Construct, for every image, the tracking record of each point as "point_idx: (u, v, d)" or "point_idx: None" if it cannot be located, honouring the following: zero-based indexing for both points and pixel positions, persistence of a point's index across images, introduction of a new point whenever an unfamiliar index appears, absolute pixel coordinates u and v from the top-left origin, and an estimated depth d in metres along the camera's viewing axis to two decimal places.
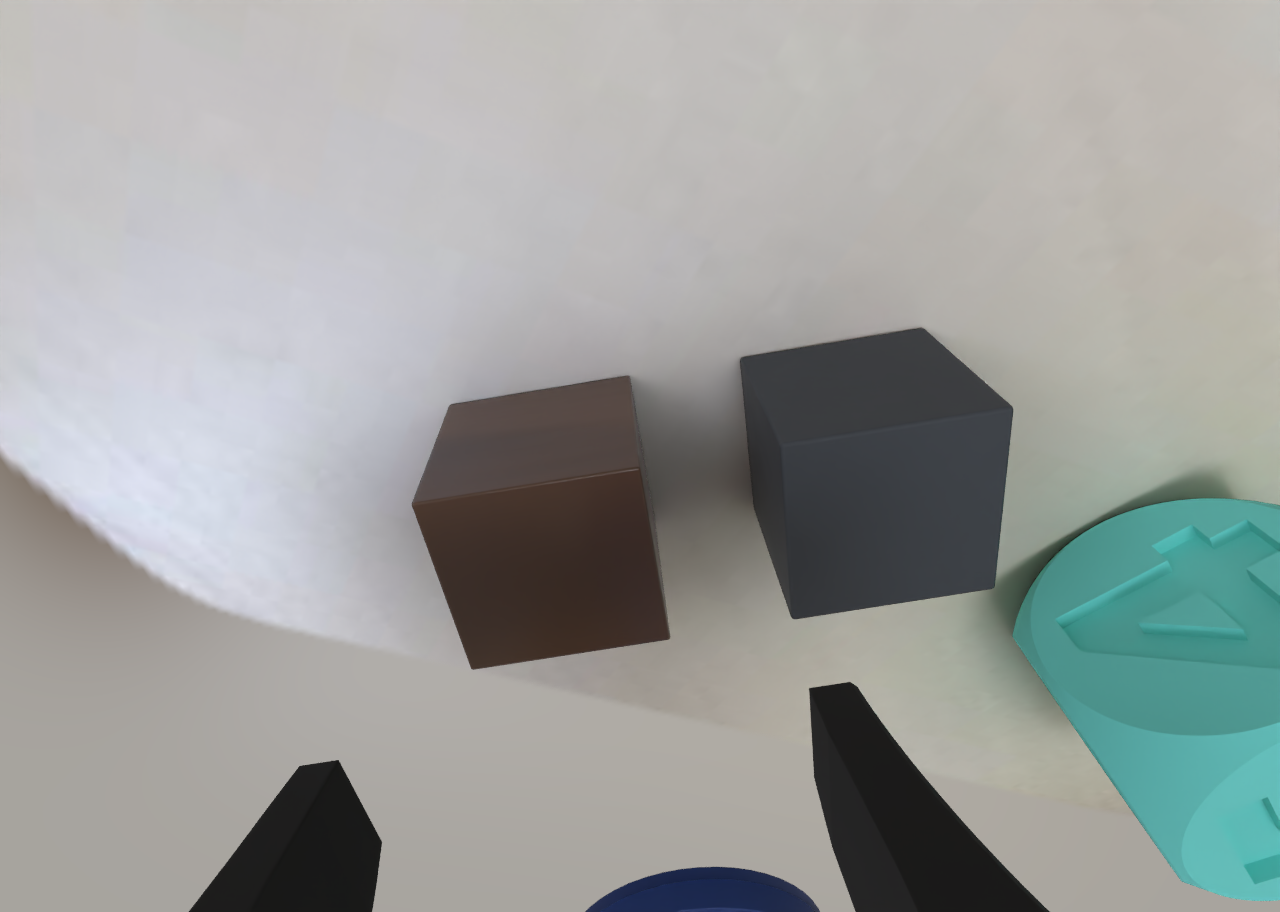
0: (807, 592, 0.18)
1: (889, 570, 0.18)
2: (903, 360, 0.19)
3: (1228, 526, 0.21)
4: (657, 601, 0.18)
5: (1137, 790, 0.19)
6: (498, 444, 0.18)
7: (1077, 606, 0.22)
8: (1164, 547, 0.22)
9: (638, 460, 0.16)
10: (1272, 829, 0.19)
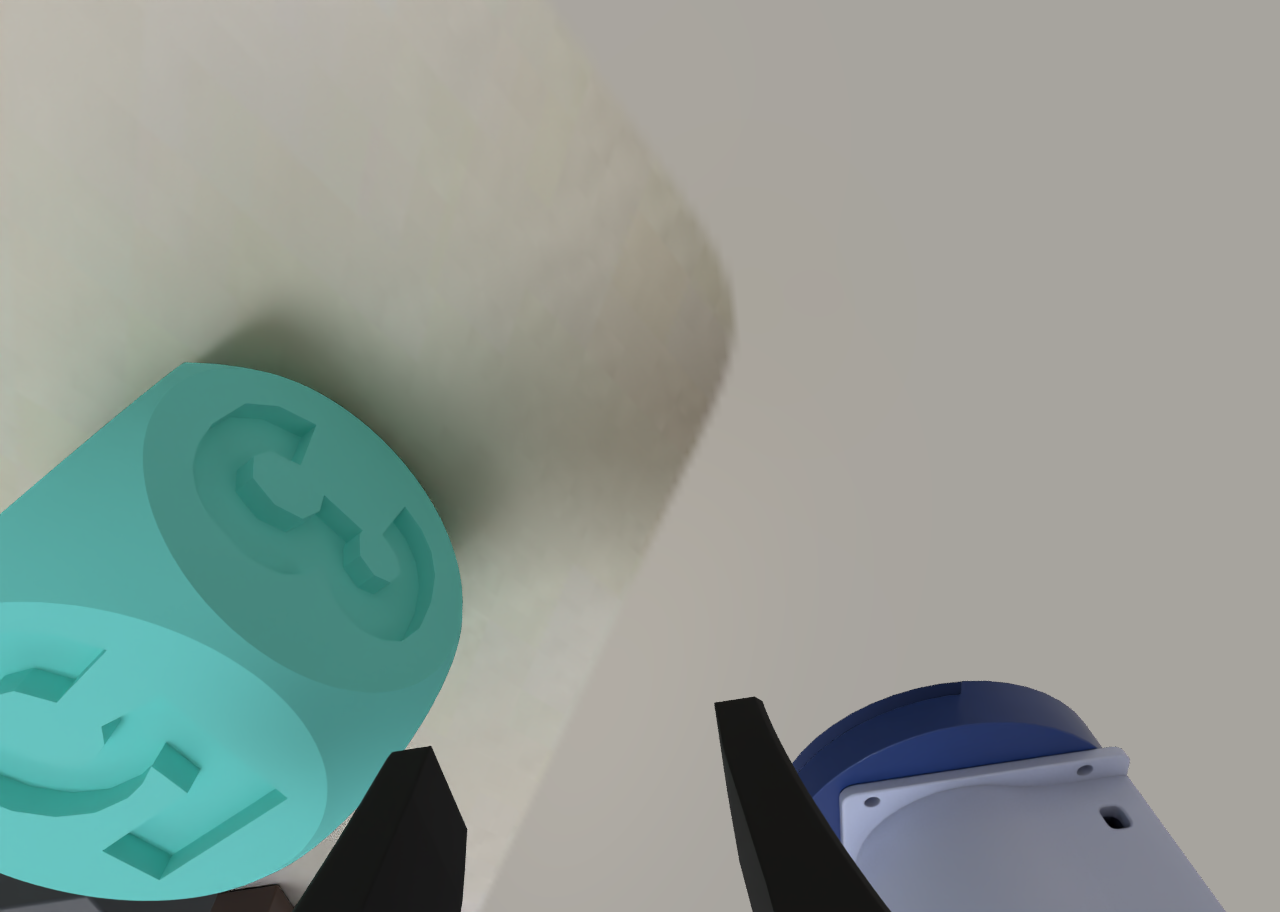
0: None
1: None
2: None
3: None
4: None
5: None
6: None
7: None
8: None
9: None
10: (208, 770, 0.14)
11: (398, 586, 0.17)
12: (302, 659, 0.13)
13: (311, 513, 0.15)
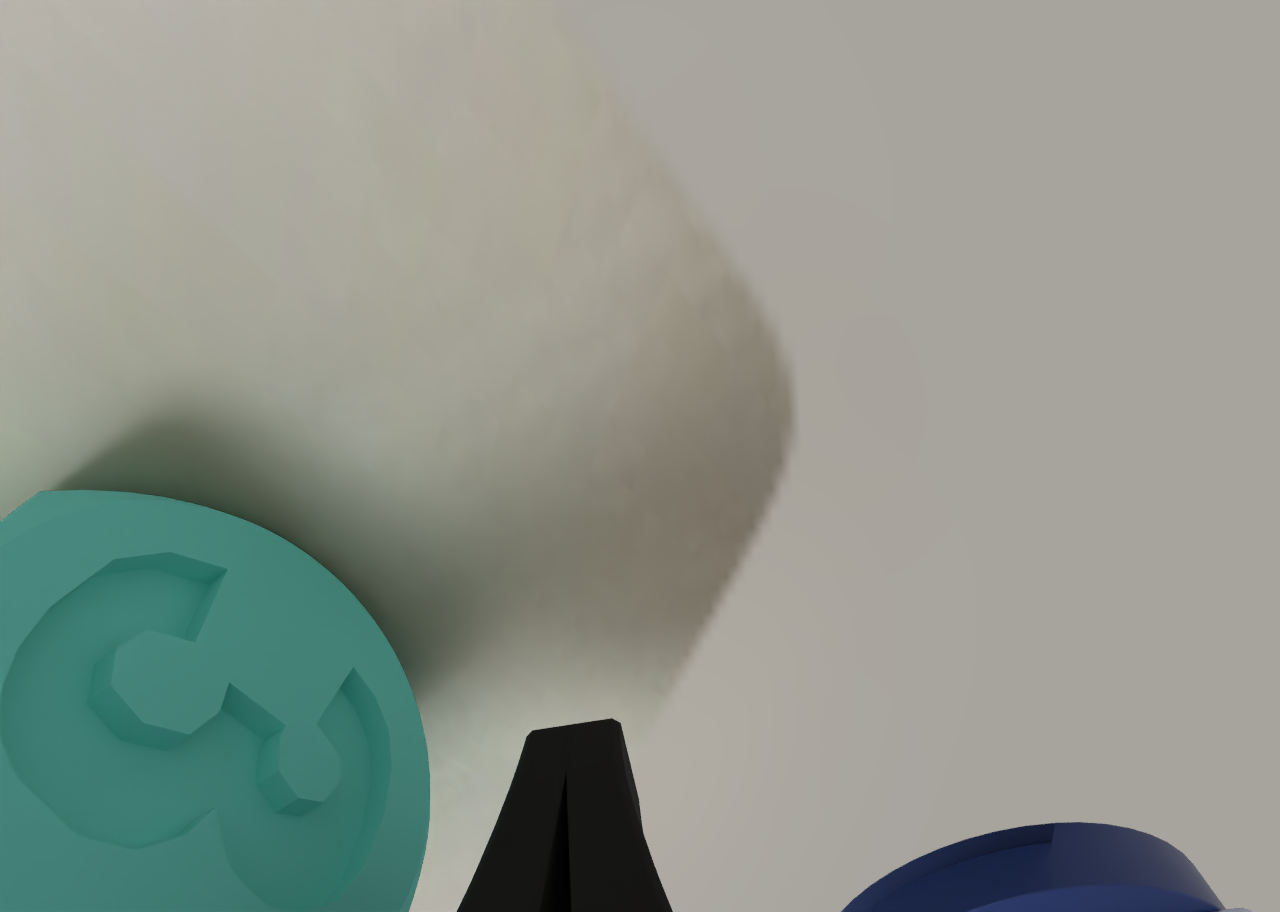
0: None
1: None
2: None
3: None
4: None
5: None
6: None
7: None
8: None
9: None
10: None
11: (340, 791, 0.12)
12: None
13: (205, 720, 0.10)
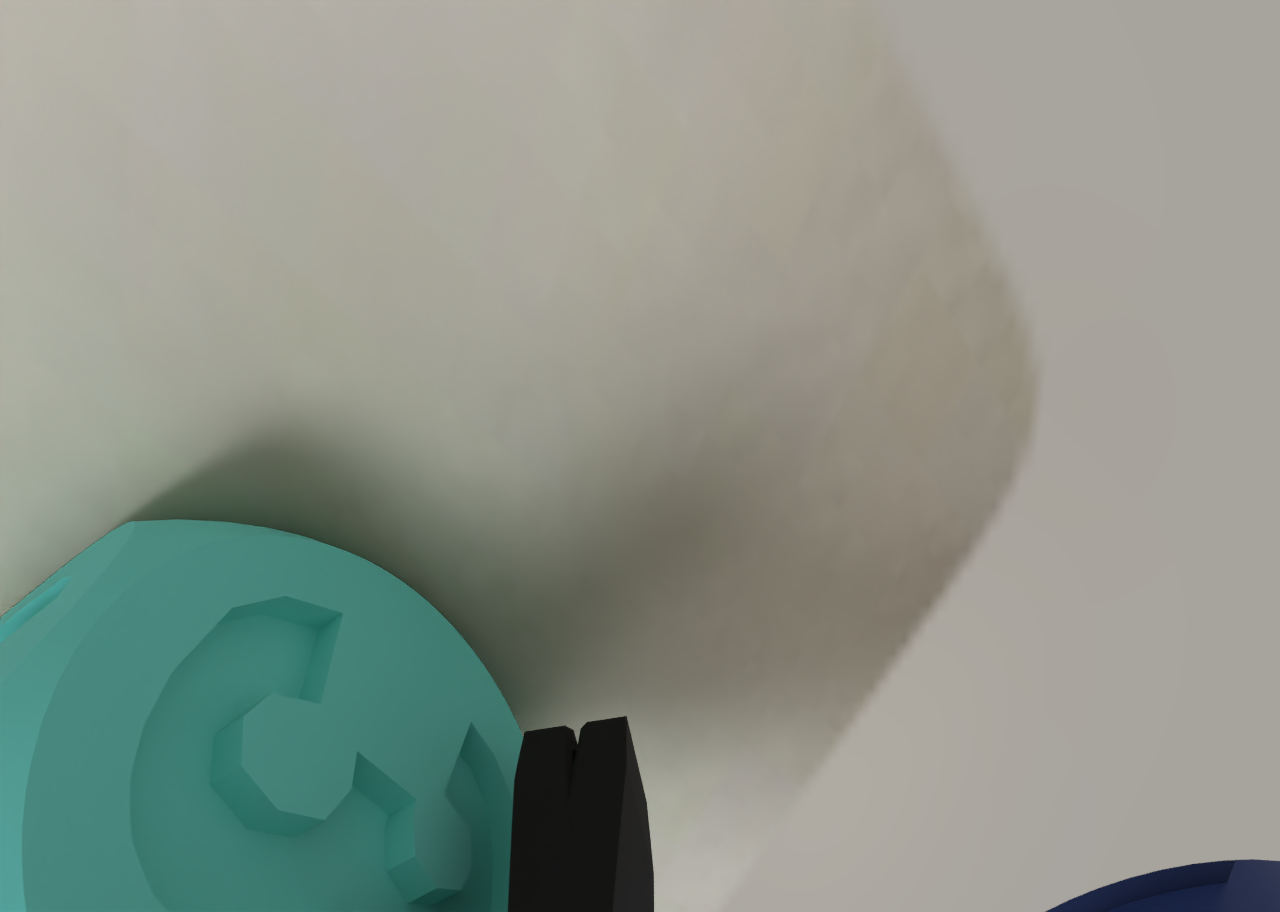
0: None
1: None
2: None
3: None
4: None
5: None
6: None
7: None
8: None
9: None
10: None
11: None
12: None
13: (338, 800, 0.09)
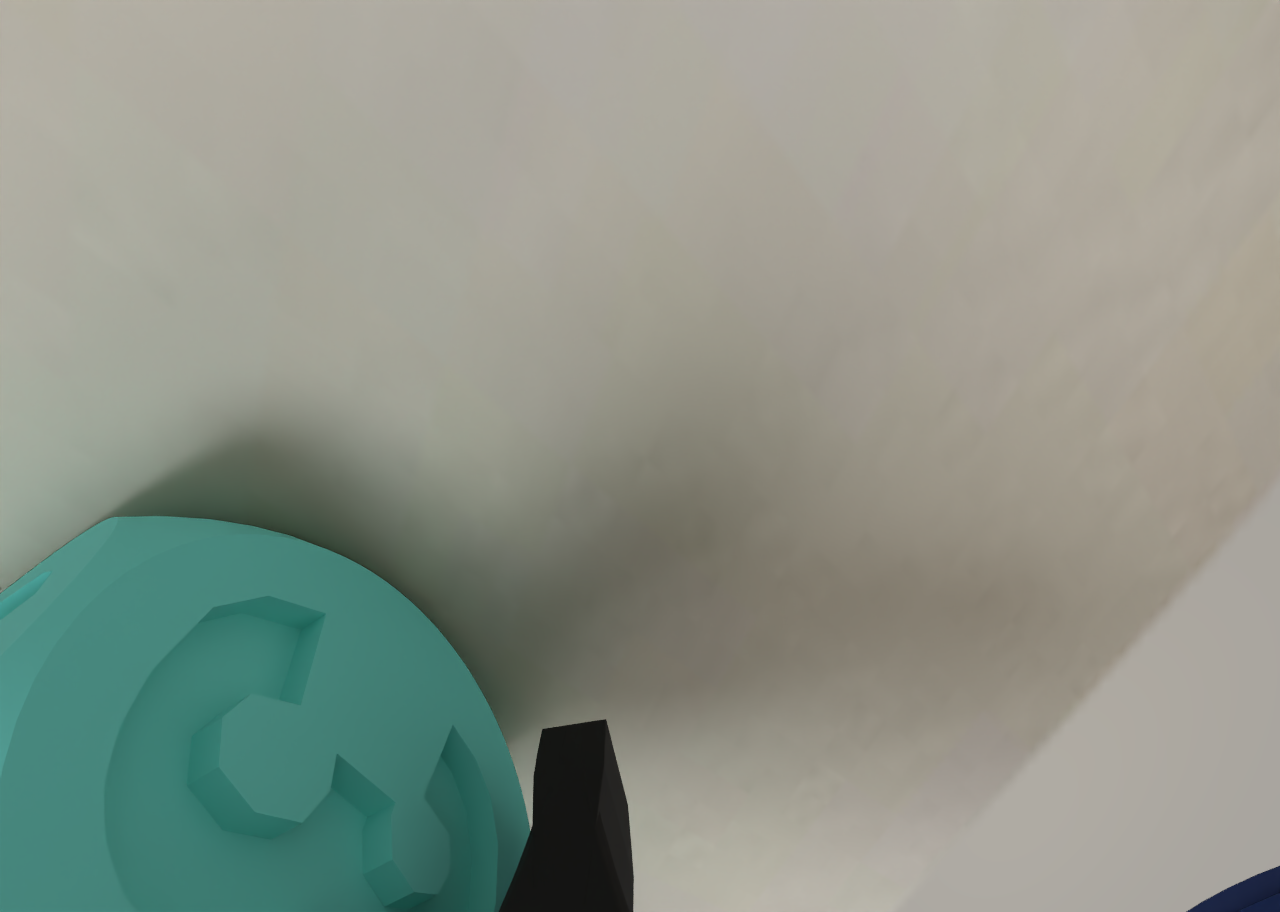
0: None
1: None
2: None
3: None
4: None
5: None
6: None
7: None
8: None
9: None
10: None
11: None
12: None
13: (316, 803, 0.09)
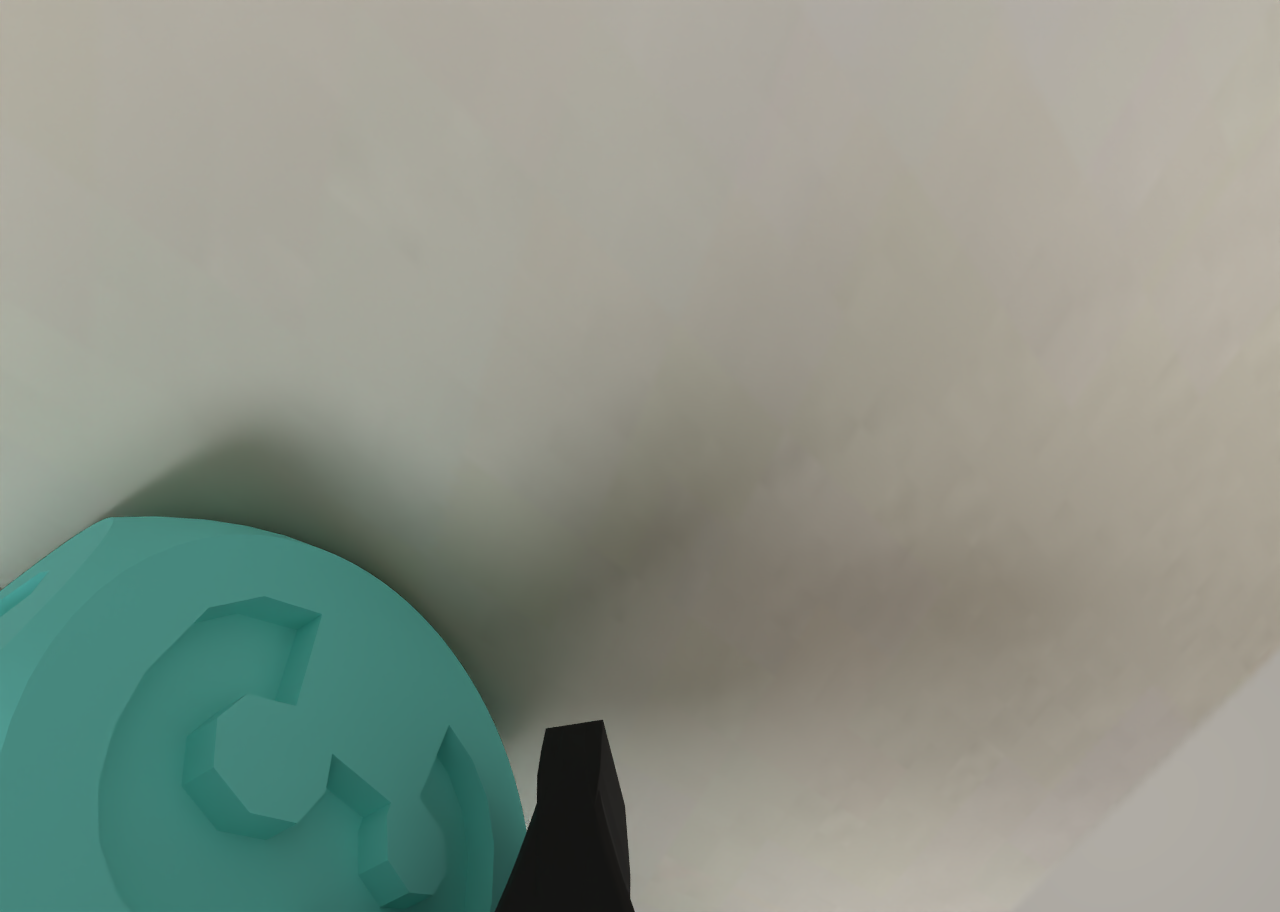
0: None
1: None
2: None
3: None
4: None
5: None
6: None
7: None
8: None
9: None
10: None
11: None
12: None
13: (311, 803, 0.09)
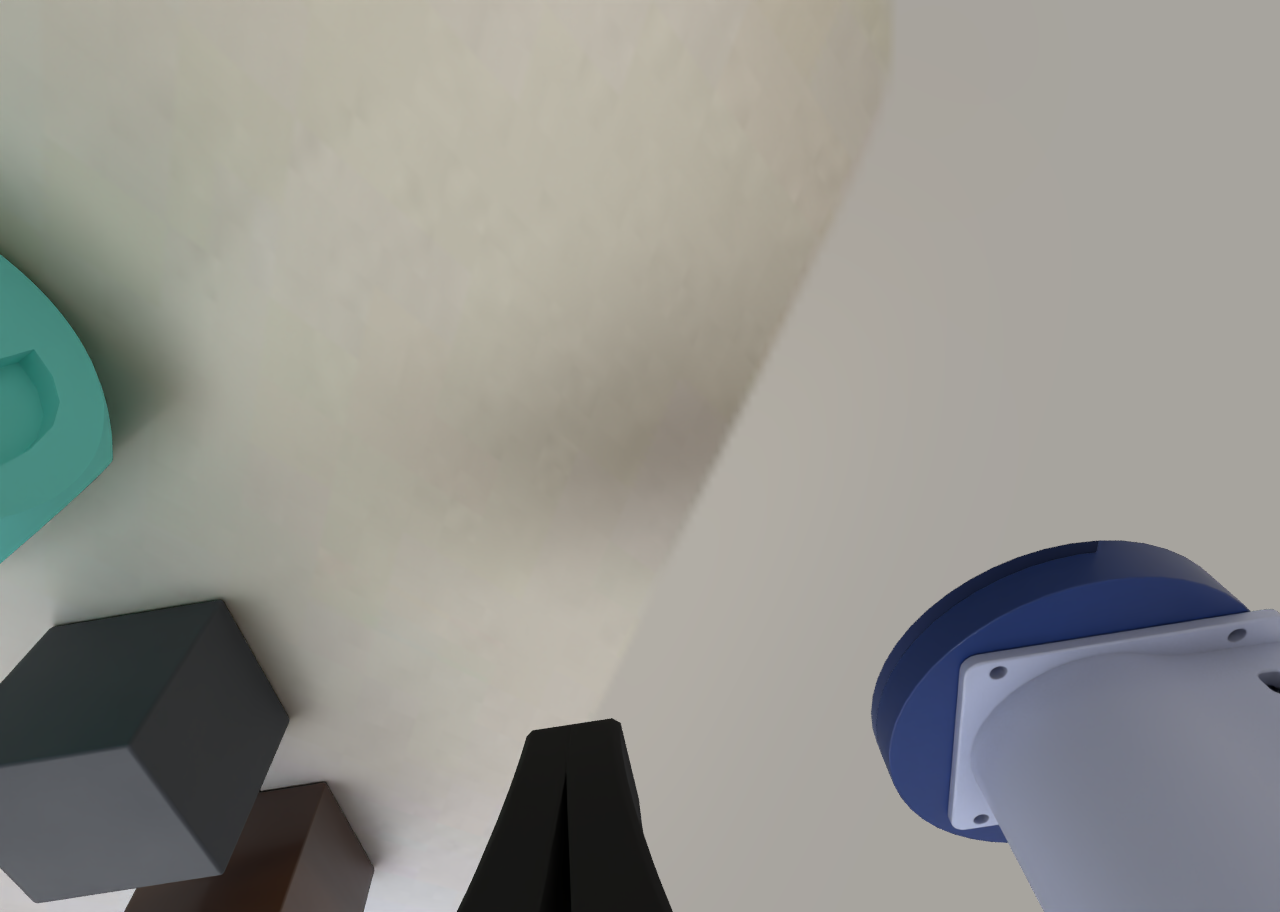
0: (183, 871, 0.19)
1: (135, 826, 0.18)
2: None
3: None
4: None
5: None
6: None
7: None
8: None
9: None
10: None
11: None
12: None
13: None
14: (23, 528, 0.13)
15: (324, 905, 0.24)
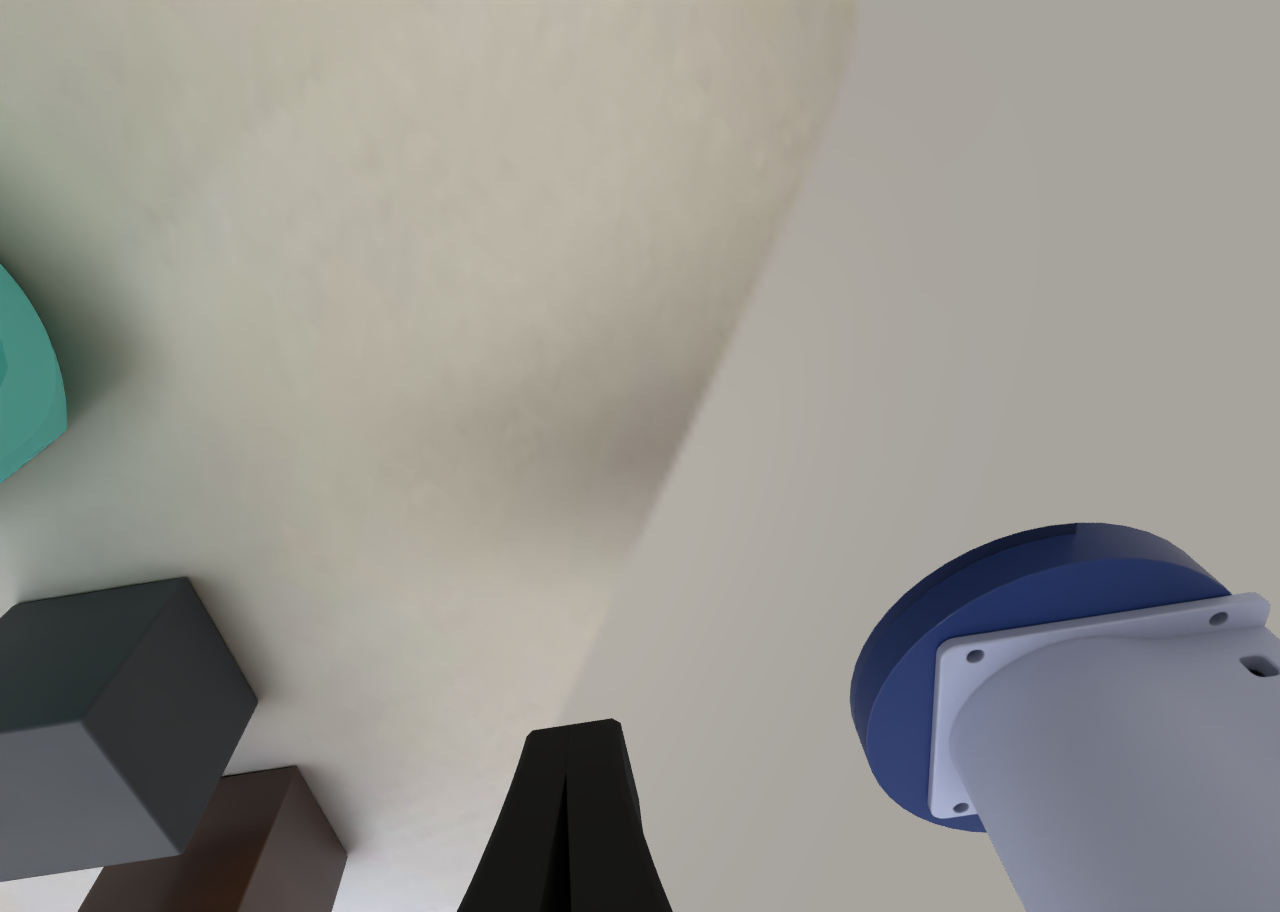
0: (141, 851, 0.19)
1: (91, 803, 0.18)
2: None
3: None
4: None
5: None
6: None
7: None
8: None
9: None
10: None
11: None
12: None
13: None
14: None
15: (292, 890, 0.23)
